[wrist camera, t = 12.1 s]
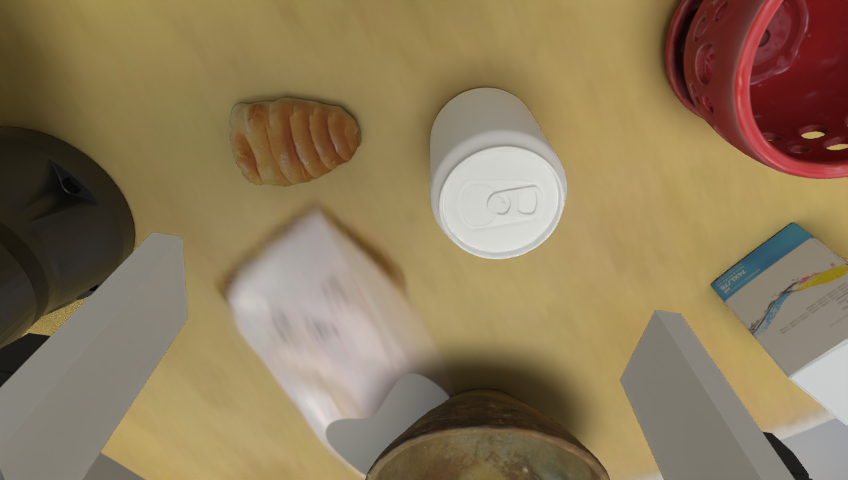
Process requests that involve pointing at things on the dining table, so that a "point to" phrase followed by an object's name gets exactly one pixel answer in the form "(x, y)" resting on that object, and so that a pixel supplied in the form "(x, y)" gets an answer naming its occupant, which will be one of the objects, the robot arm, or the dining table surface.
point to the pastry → (291, 140)
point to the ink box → (796, 311)
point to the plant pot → (767, 78)
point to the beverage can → (494, 175)
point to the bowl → (486, 444)
